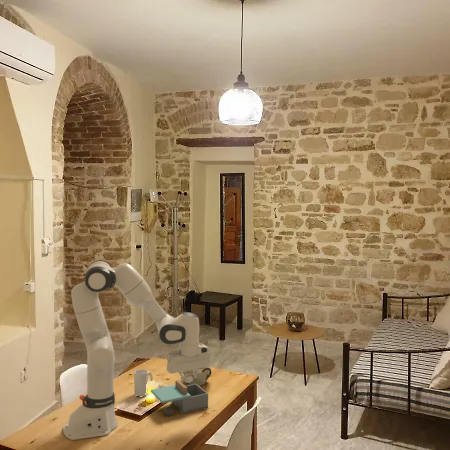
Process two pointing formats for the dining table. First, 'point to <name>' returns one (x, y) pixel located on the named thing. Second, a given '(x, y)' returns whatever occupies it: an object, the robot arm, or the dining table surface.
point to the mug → (141, 381)
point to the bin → (193, 400)
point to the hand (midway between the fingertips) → (188, 379)
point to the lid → (171, 392)
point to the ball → (168, 411)
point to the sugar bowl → (200, 375)
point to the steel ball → (188, 378)
